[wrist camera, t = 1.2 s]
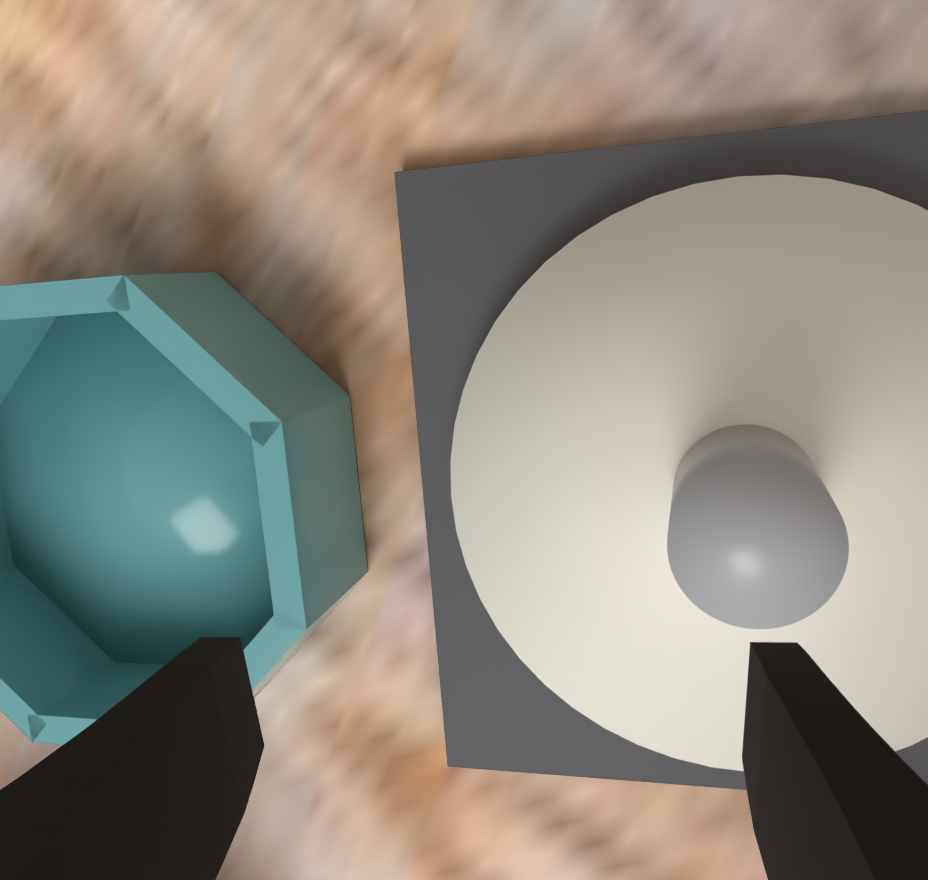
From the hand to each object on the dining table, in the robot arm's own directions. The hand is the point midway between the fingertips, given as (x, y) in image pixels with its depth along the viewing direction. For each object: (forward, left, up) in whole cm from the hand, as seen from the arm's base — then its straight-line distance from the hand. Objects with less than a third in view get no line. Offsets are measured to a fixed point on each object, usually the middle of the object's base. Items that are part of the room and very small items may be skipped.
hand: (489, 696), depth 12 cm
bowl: (+12, -1, -10) cm, 16 cm away
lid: (-4, -1, -10) cm, 11 cm away
